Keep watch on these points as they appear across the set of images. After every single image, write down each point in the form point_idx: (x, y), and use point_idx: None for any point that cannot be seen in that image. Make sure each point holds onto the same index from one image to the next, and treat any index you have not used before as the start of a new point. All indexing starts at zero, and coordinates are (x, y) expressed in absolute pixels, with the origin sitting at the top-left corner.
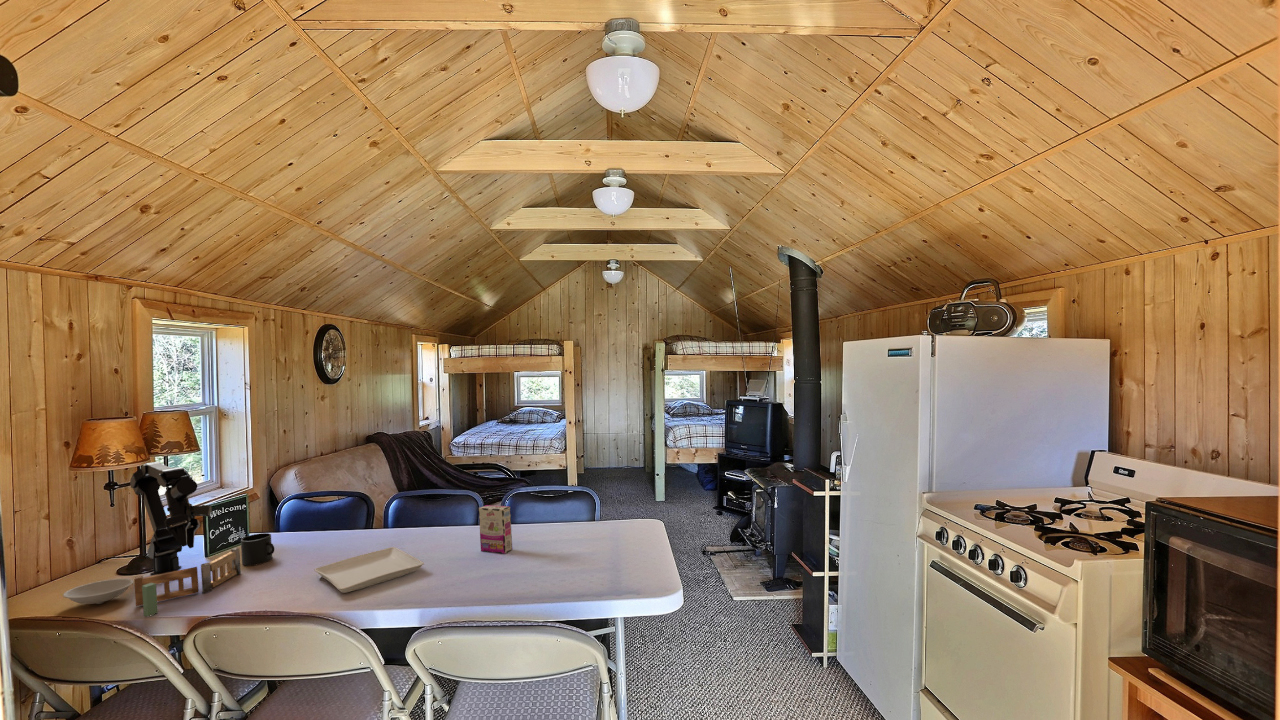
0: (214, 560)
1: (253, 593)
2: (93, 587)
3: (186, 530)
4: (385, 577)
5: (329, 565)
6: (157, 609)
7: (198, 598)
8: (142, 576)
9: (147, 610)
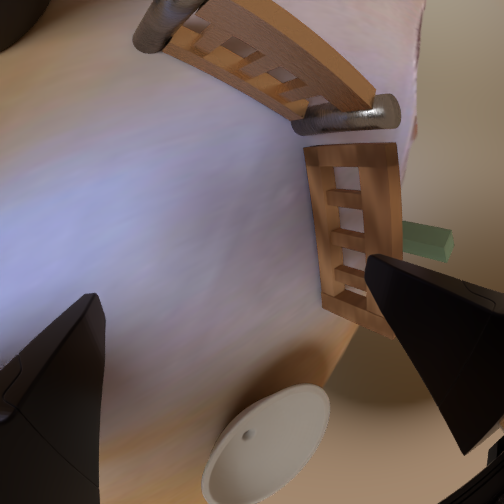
0: (343, 74)
1: (358, 19)
2: (216, 490)
3: (490, 304)
4: None
5: None
6: None
7: (342, 138)
8: None
9: None
